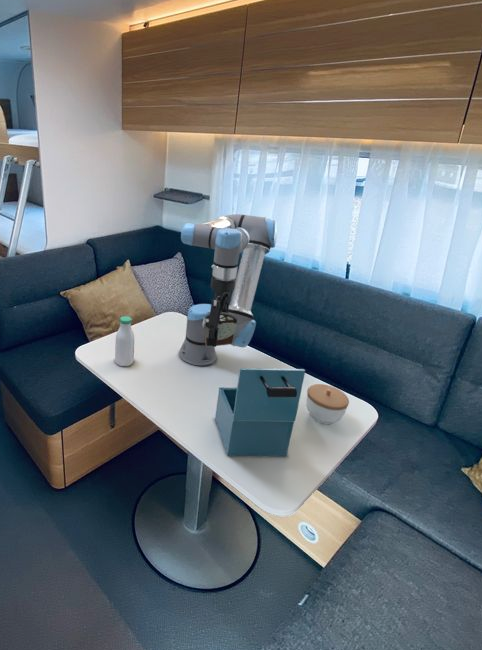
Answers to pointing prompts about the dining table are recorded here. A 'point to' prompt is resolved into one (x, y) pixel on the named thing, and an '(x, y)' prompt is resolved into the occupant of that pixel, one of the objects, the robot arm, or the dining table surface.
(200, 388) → the dining table surface
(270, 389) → the freezer lid
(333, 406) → the lidded bowl
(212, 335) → the robot arm
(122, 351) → the milk bottle
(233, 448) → the box
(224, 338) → the food container
